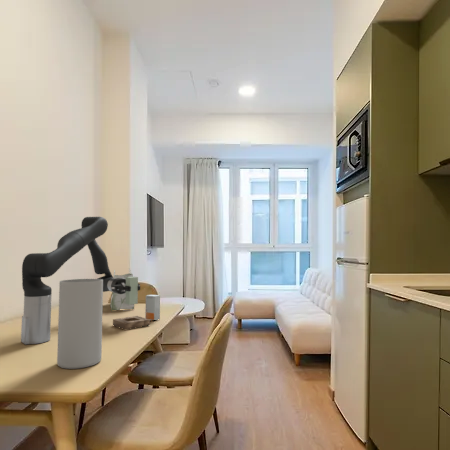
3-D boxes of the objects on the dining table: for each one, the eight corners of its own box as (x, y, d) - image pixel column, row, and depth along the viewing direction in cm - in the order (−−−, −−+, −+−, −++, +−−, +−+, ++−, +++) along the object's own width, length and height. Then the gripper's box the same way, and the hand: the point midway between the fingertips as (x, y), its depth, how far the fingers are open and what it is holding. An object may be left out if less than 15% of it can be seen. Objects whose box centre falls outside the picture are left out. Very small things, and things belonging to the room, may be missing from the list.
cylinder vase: (106, 356, 112) (108, 278, 114) (93, 369, 100) (95, 282, 102) (67, 356, 112) (69, 278, 114) (49, 370, 100) (52, 282, 101)
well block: (124, 330, 149) (125, 323, 149) (112, 325, 158) (113, 319, 158) (149, 325, 157) (149, 319, 157) (136, 321, 166) (136, 315, 166)
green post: (129, 304, 155) (129, 277, 156) (125, 303, 158) (125, 277, 159) (137, 303, 158) (137, 277, 159) (133, 302, 161) (133, 276, 162)
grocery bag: (110, 303, 225) (111, 267, 227) (132, 302, 229) (133, 267, 231) (109, 311, 195) (110, 270, 197) (135, 310, 199) (135, 269, 201)
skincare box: (144, 320, 170) (145, 295, 171) (150, 318, 174) (150, 294, 175) (154, 321, 167) (154, 296, 168) (160, 319, 171) (160, 295, 172)
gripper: (104, 278, 165) (120, 281, 152) (131, 276, 174) (148, 279, 162) (103, 294, 164) (119, 298, 152) (131, 292, 174) (148, 295, 161)
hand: (134, 288), depth 157 cm, fingers closed on green post, 4 cm apart
